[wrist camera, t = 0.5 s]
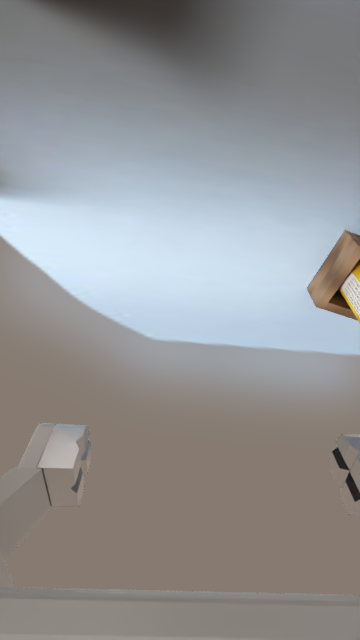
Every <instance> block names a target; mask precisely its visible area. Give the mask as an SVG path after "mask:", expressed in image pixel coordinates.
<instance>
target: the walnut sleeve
mask: <svg viewBox="0 0 360 640" xmlns="http://www.w3.org/2000/svg"><path fill="white" fill-rule="evenodd" d="M359 259H360V236H359V235H356V234H354V233H351V232H348V231H344V233H343V234H342V236H341V237H340V239H339V240H338V242H337V243H336V245H335V246H334V248H333V249H332V251H331V252H330V254H329V255H328V257H327V258H326V260H325V261H324V263H323V265H322V266H321V268H320V269H319V271H318V272H317V274H316V275H315V277H314V278H313V280H312V281H311V283H310V284H309V286H308V287H307V290H308V292H309V294H310V296H311V298H312V300H313V302H314V304H315V306H316V307H318V308H321V309H324V310H327V311H331V312H334V313H337V314H340V315H343V316H346V317H349V318H352V319H355V320H358V319H357V318H356V316H355V314H354V313H353V311H352V310H351V308H350V306H349V305H348V303H347V302H346V300H345V298H344V297H343V295H342V294H341V292H340V291H337V289H338V288H339V287H340V285H341V284H342V282H343V281H344V280H345V278H346V277H347V276H348V274H349V273H350V271H351V270H352V269H353V267H354V266H355V264H356V263H357V262H358V260H359Z"/></svg>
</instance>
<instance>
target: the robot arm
mask: <svg viewBox="0 0 360 640" xmlns="http://www.w3.org/2000/svg"><path fill="white" fill-rule="evenodd" d="M89 434H90V432H89V426H87V425H70V424H52V423H40V424H39V425H38V426H37V427H36V430H35V432H34V434H33V436H32V438H31V440H30V443H29V445H28V447H27V450H26V451H25V453H24V456H23V458H22V460H21V462H20V464H19V466H18V468H12V469H11V470H9V471H8V472H7V473H6V474H4V475H3V476H2V477H1V478H0V640H360V595H327V594H285V593H283V594H282V593H242V592H198V591H197V592H194V591H154V590H111V589H109V590H108V589H67V588H23V587H12V586H13V580H12V578H11V575H10V572H9V570H8V567H7V565H6V562H5V560H6V559H7V558H8V557H9V555H10V554H11V553H12V552H13V551H14V550H15V549H16V548H17V546H18V545H19V544H20V543H21V542H22V541H23V540H24V539H25V537H26V536H27V535H28V534H29V533H30V532H31V531H32V529H33V528H34V527H35V526H36V525H37V524H38V523H39V522H40V520H41V519H42V518H43V517H44V516H45V515H46V514H47V512H48V511H49V510H50V509H51V507H79V506H80V501H81V498H82V494H83V490H84V478H83V477H84V476H85V475H86V474H87V473H88V471H89V467H90V461H91V442H89V441H88V438H89ZM336 444H337V446H338V447H337V448H336V449H334V450H333V451H332V452H331V455H330V458H329V467H330V472H331V475H332V478H333V480H334V482H336V483H337V484H338V485H339V486H340V487H341V491H340V497H341V499H342V501H343V504H344V506H345V508H346V511H347V513H348V515H360V435H348V434H341V435H340V436H338V438H337V441H336Z"/></svg>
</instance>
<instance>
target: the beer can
mask: <svg viewBox="0 0 360 640" xmlns="http://www.w3.org/2000/svg"><path fill="white" fill-rule="evenodd" d="M338 289H339V290H340V292H341V294H342V295H343V297H344V298H345V300H346V302H347V303H348V305H349V306H350V308H351V310H352V311H353V313H354V314H355V316H356V318H357V319H358V321H359V322H360V259H359V260H358V262H357V263H356V264H355V266H354V267H353V269H352V270H351V271H350V273H349V274H348V276H347V277H346V278H345V280H344V281H343V282H342V284H341V285H340V287H339V288H338Z"/></svg>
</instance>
